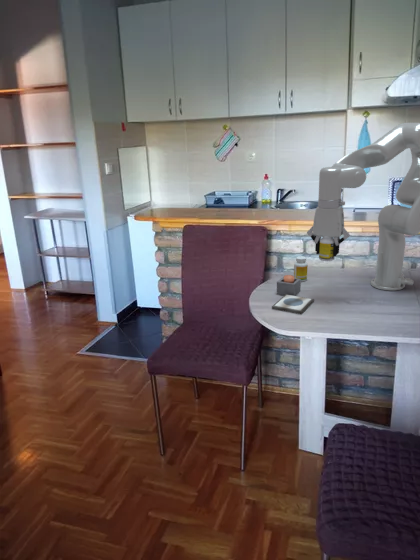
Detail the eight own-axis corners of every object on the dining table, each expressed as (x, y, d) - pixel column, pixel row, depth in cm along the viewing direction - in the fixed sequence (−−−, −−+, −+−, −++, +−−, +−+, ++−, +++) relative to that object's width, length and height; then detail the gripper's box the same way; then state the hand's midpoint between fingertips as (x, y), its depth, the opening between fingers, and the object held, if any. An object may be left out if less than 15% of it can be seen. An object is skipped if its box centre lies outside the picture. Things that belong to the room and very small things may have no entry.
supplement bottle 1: (291, 278, 189) (291, 257, 186) (301, 276, 192) (302, 255, 188) (299, 282, 185) (299, 260, 182) (309, 280, 187) (310, 258, 184)
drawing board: (313, 301, 165) (313, 298, 165) (301, 314, 155) (301, 311, 155) (285, 296, 171) (285, 293, 170) (271, 308, 160) (271, 305, 160)
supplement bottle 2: (331, 262, 159) (333, 235, 156) (316, 260, 162) (317, 233, 159) (336, 258, 164) (337, 231, 160) (321, 256, 166) (322, 230, 163)
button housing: (300, 291, 176) (300, 278, 174) (293, 297, 170) (294, 284, 169) (283, 288, 179) (283, 276, 178) (276, 294, 174) (276, 281, 172)
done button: (295, 283, 174) (295, 275, 173) (291, 286, 171) (292, 279, 170) (285, 281, 176) (285, 274, 175) (281, 284, 173) (282, 277, 172)
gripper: (357, 203, 155) (353, 254, 161) (308, 200, 163) (307, 249, 169) (351, 207, 149) (348, 260, 155) (301, 204, 157) (300, 254, 163)
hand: (326, 253), depth 162 cm, fingers closed on supplement bottle 2, 5 cm apart
